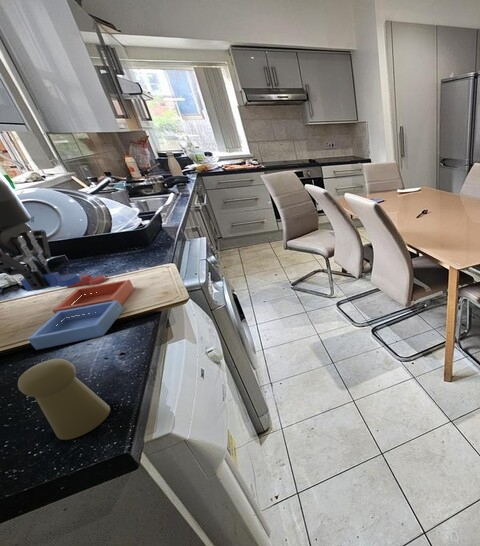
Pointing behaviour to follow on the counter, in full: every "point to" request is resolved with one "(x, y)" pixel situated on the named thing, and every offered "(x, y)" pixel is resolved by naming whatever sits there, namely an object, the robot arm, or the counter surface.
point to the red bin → (97, 295)
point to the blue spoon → (55, 280)
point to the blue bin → (76, 325)
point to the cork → (63, 398)
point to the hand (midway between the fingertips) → (45, 285)
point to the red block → (89, 280)
